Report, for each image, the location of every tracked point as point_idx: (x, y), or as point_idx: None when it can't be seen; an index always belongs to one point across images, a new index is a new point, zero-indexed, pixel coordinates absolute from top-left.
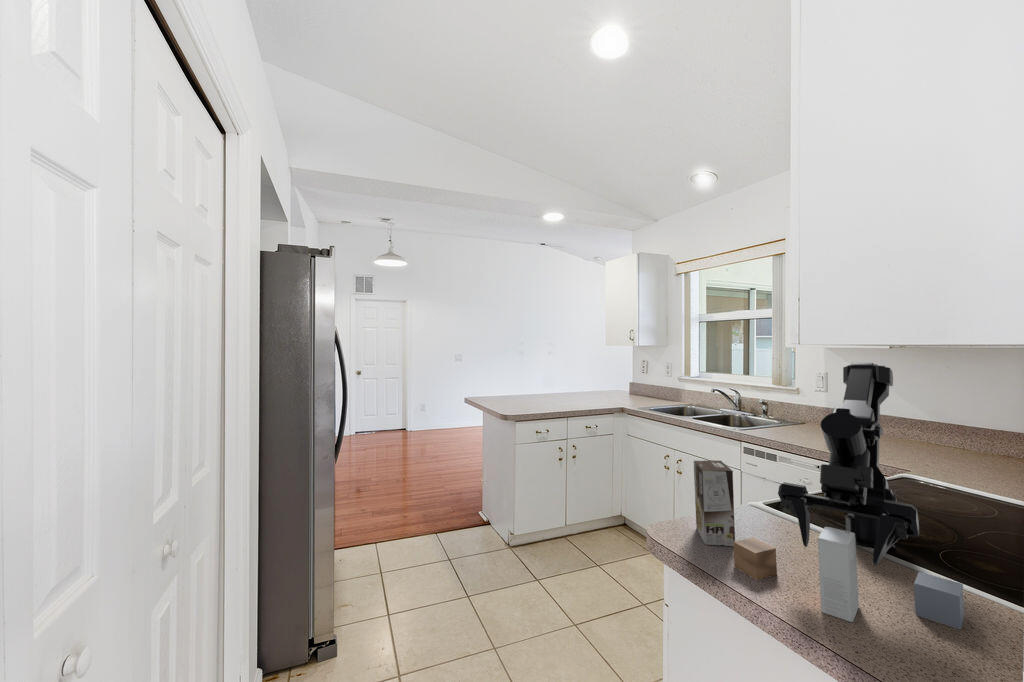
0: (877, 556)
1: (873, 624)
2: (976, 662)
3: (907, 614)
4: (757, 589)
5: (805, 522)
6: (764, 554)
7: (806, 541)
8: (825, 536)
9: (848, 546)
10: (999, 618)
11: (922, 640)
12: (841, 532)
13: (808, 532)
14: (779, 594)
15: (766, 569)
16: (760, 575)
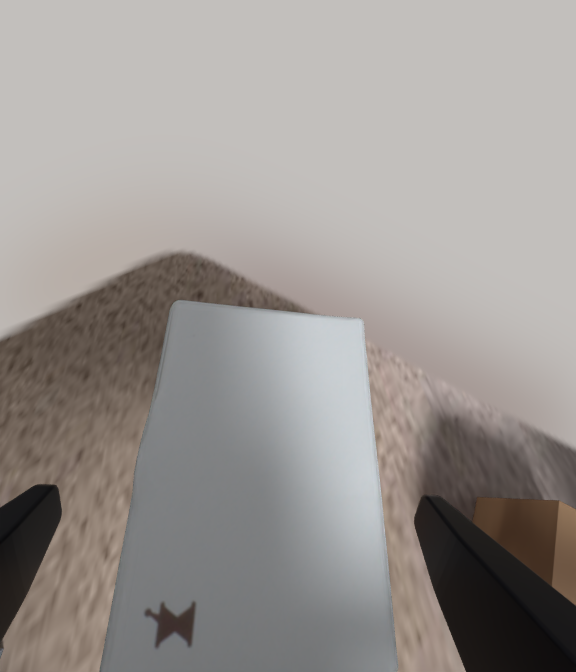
0: (2, 513)
1: None
2: None
3: (35, 622)
4: (448, 435)
5: (564, 641)
6: (539, 556)
7: (432, 513)
8: (328, 367)
9: (174, 302)
10: None
11: (35, 449)
12: (230, 577)
13: (480, 661)
14: (396, 448)
15: None
16: (482, 516)
